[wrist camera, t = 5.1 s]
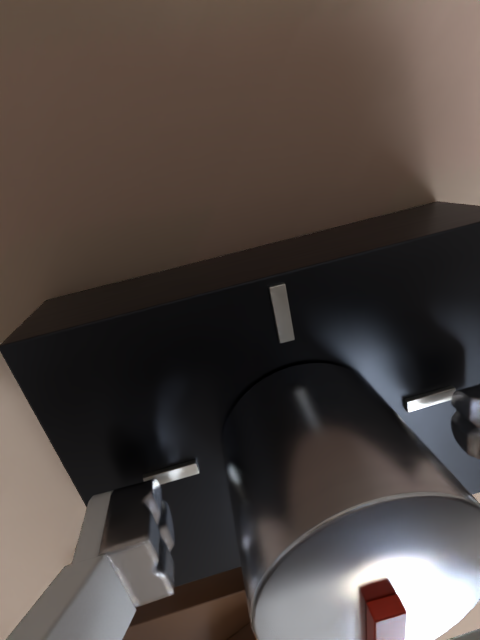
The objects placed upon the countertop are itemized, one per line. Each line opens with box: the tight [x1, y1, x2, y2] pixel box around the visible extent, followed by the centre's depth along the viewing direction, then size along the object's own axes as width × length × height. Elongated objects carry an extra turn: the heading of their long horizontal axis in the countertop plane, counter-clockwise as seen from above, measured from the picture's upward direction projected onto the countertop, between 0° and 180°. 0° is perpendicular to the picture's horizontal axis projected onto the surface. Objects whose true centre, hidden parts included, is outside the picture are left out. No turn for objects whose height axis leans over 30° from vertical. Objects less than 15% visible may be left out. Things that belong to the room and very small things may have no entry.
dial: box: [222, 363, 480, 640], centre depth 8 cm, size 4×4×4 cm
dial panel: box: [0, 202, 480, 587], centre depth 11 cm, size 12×9×3 cm
